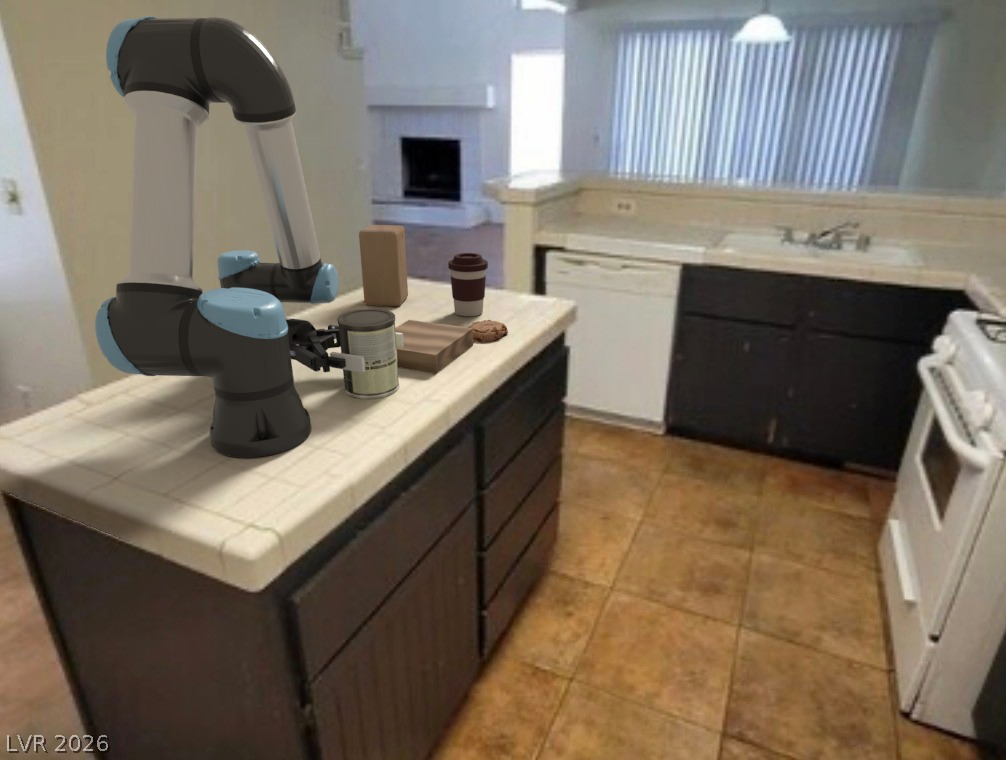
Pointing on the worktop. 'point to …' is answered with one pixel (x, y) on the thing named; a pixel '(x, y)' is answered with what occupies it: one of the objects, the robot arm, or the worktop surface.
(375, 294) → the wooden block
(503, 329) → the cookie
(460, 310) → the coffee cup
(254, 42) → the robot arm
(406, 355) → the walnut base block
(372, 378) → the coffee can
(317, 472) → the worktop surface
